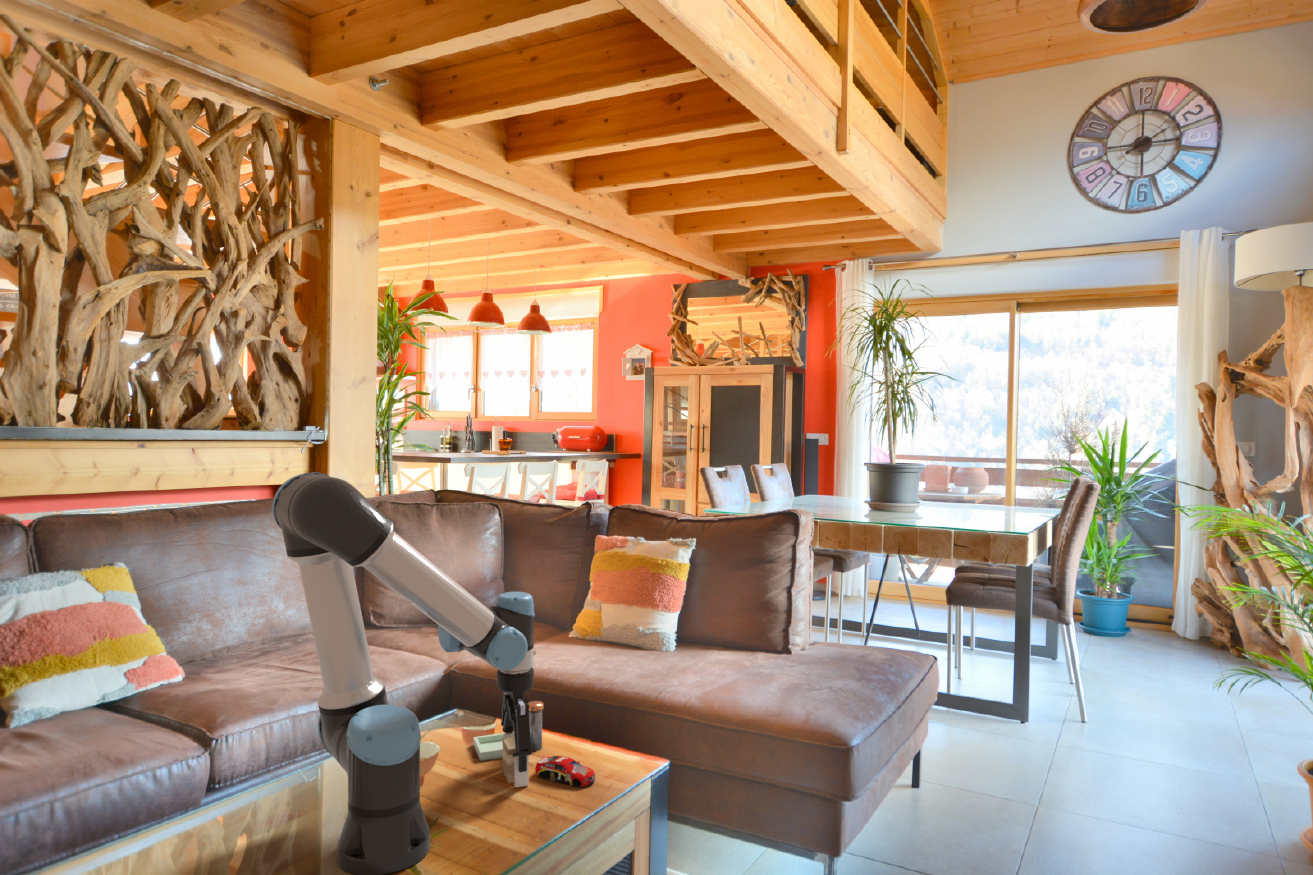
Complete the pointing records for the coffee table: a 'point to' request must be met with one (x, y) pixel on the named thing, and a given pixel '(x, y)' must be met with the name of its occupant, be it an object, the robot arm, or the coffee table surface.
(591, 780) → the race car
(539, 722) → the pin
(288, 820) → the coffee table surface
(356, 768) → the robot arm
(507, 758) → the brown lidded box
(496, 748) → the tray
